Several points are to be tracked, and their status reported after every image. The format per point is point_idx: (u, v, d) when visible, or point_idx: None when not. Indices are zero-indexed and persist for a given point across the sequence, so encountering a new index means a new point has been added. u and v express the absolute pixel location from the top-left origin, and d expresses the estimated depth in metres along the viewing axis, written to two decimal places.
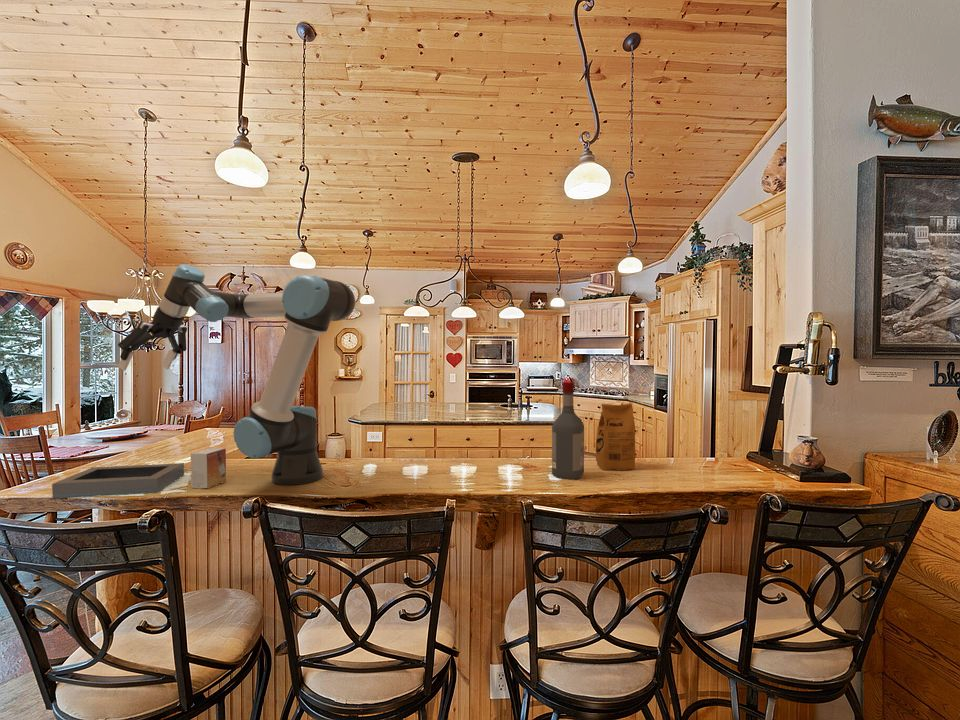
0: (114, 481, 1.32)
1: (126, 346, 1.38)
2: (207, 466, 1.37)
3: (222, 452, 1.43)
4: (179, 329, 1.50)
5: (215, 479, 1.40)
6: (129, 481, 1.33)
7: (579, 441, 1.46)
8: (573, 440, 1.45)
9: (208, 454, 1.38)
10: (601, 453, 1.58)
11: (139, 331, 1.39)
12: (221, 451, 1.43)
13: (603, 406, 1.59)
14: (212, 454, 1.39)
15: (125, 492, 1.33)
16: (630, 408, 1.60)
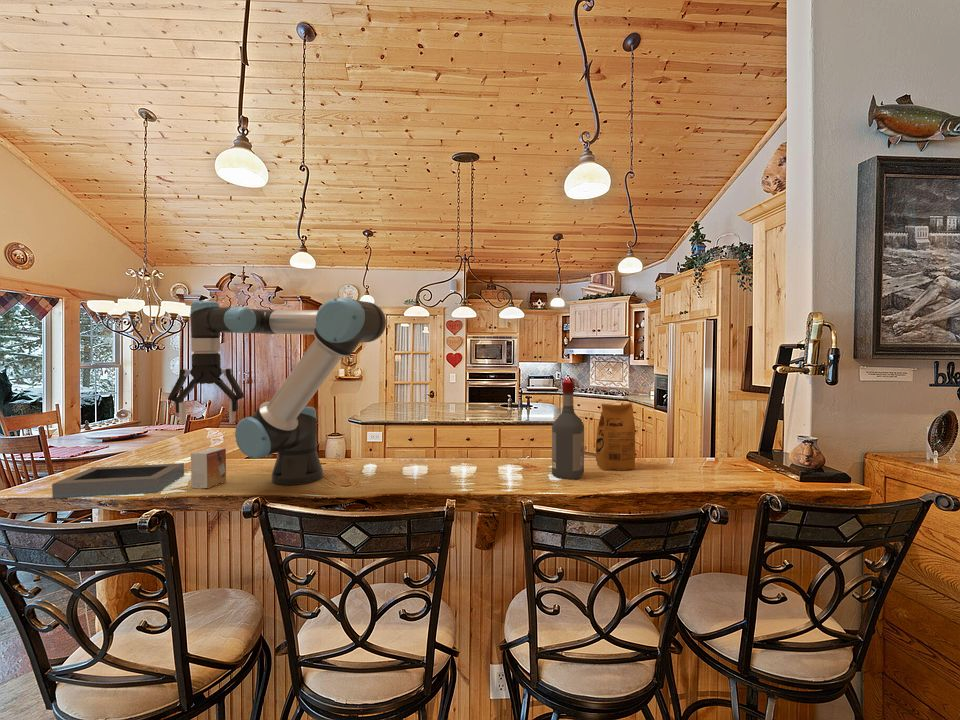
0: (114, 481, 1.32)
1: (170, 395, 1.38)
2: (207, 466, 1.37)
3: (222, 452, 1.43)
4: (223, 372, 1.41)
5: (215, 479, 1.40)
6: (129, 481, 1.33)
7: (579, 441, 1.46)
8: (573, 440, 1.45)
9: (208, 454, 1.38)
10: (601, 453, 1.58)
11: None
12: (221, 451, 1.43)
13: (603, 406, 1.59)
14: (212, 454, 1.39)
15: (125, 492, 1.33)
16: (630, 408, 1.60)
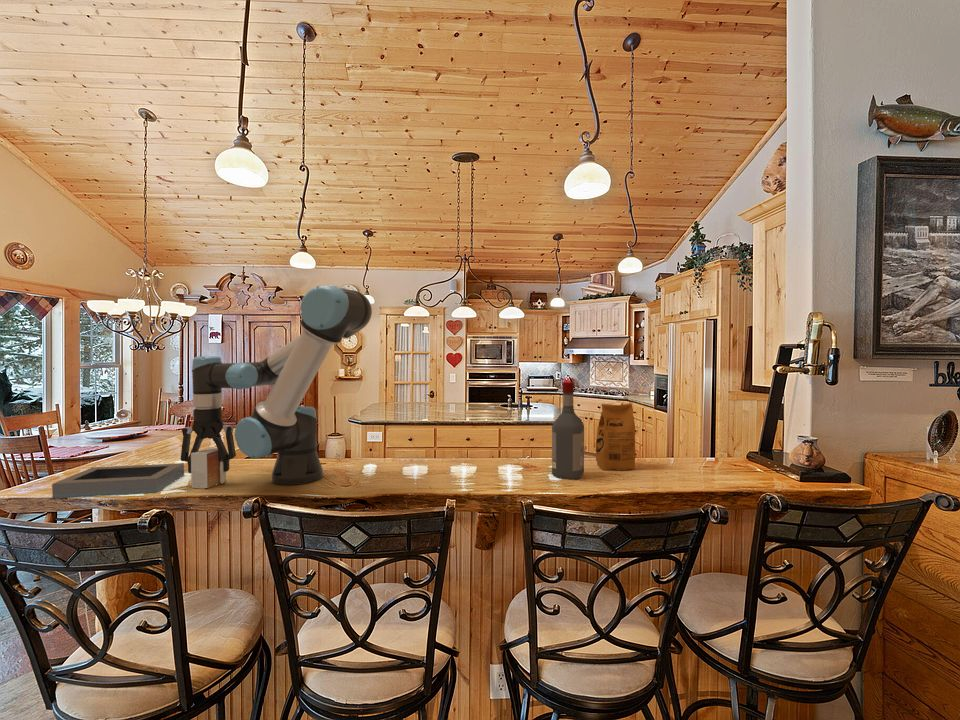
0: (114, 481, 1.32)
1: (182, 456, 1.39)
2: (207, 465, 1.37)
3: None
4: (224, 429, 1.42)
5: (215, 479, 1.40)
6: (129, 481, 1.33)
7: (579, 441, 1.46)
8: (573, 440, 1.45)
9: (208, 454, 1.38)
10: (601, 453, 1.58)
11: None
12: None
13: (603, 406, 1.59)
14: (212, 453, 1.39)
15: (125, 492, 1.33)
16: (630, 408, 1.60)
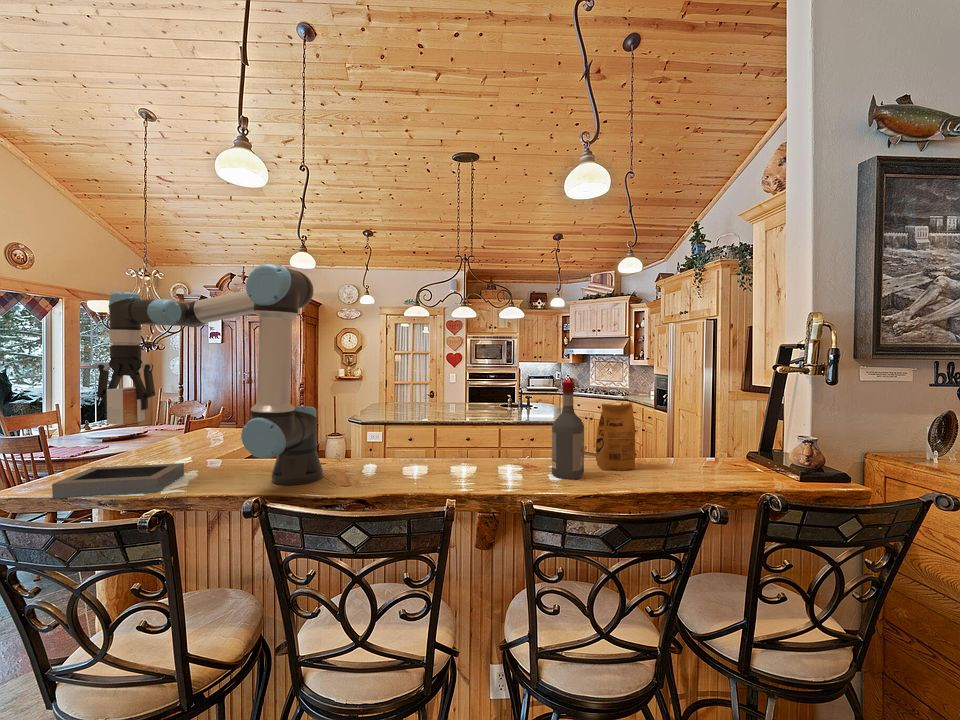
0: (114, 481, 1.32)
1: (98, 392, 1.38)
2: (123, 401, 1.36)
3: None
4: (143, 366, 1.40)
5: (133, 417, 1.39)
6: (129, 481, 1.33)
7: (579, 441, 1.46)
8: (573, 440, 1.45)
9: (124, 390, 1.36)
10: (601, 453, 1.58)
11: None
12: None
13: (603, 406, 1.59)
14: (129, 390, 1.38)
15: (125, 492, 1.33)
16: (630, 408, 1.60)
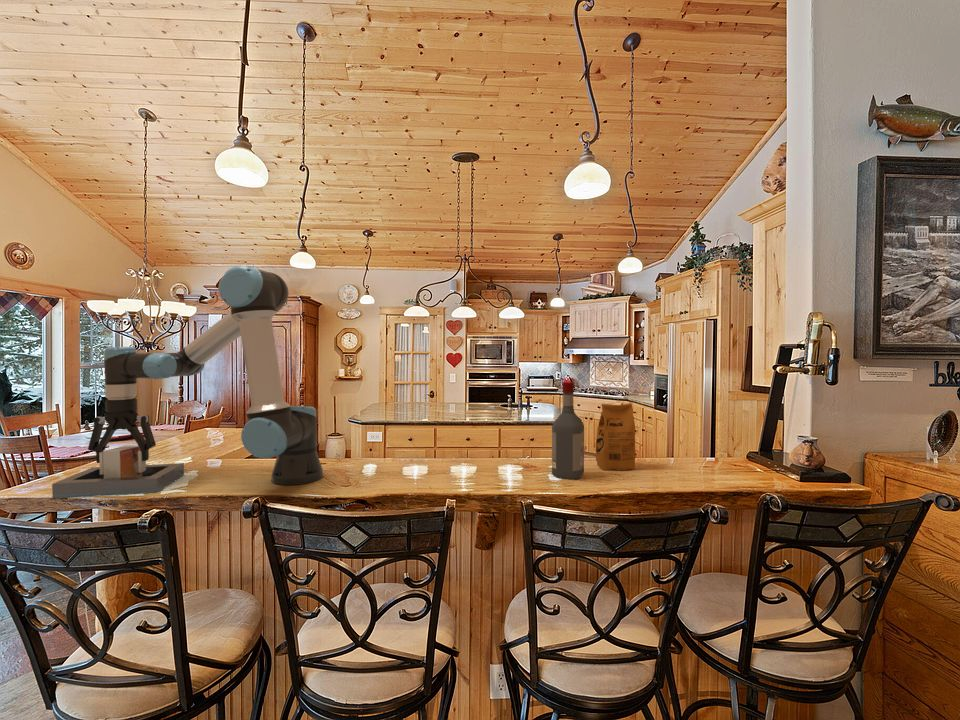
0: (114, 481, 1.32)
1: (90, 445, 1.38)
2: (120, 463, 1.37)
3: (137, 449, 1.42)
4: (139, 419, 1.41)
5: (130, 476, 1.40)
6: (129, 481, 1.33)
7: (579, 441, 1.46)
8: (573, 440, 1.45)
9: (121, 451, 1.37)
10: (601, 453, 1.58)
11: None
12: (136, 448, 1.42)
13: (603, 406, 1.59)
14: (126, 451, 1.38)
15: (125, 492, 1.33)
16: (630, 408, 1.60)
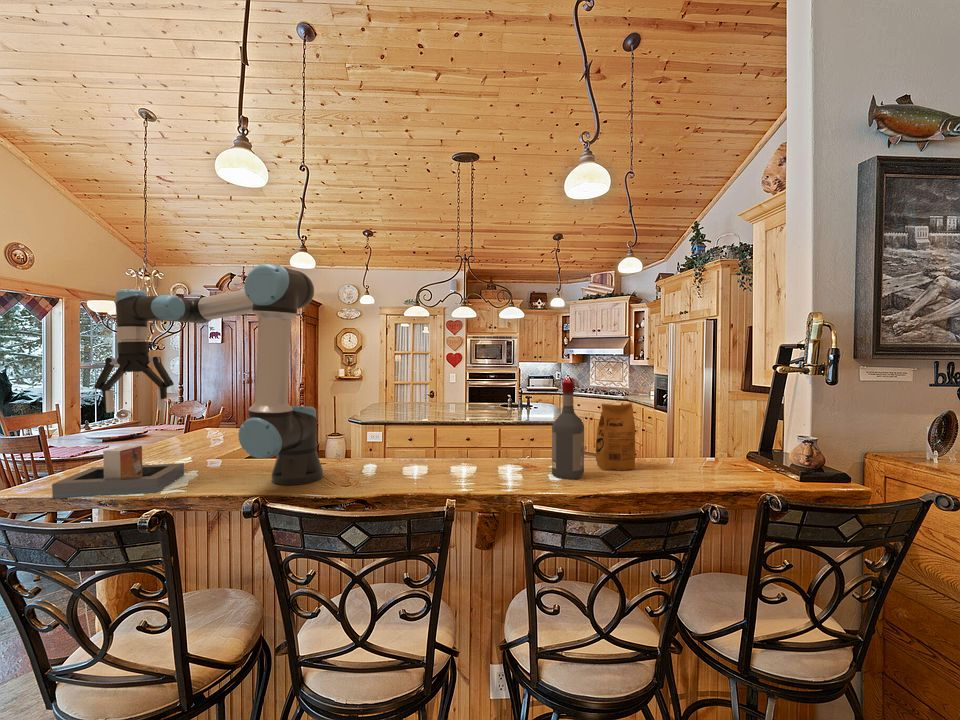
0: (114, 481, 1.32)
1: (97, 383, 1.39)
2: (121, 463, 1.37)
3: (137, 449, 1.42)
4: (151, 360, 1.43)
5: (130, 476, 1.40)
6: (129, 481, 1.33)
7: (579, 441, 1.46)
8: (573, 440, 1.45)
9: (122, 451, 1.37)
10: (601, 453, 1.58)
11: None
12: (137, 448, 1.42)
13: (603, 406, 1.59)
14: (126, 451, 1.38)
15: (125, 492, 1.33)
16: (630, 408, 1.60)
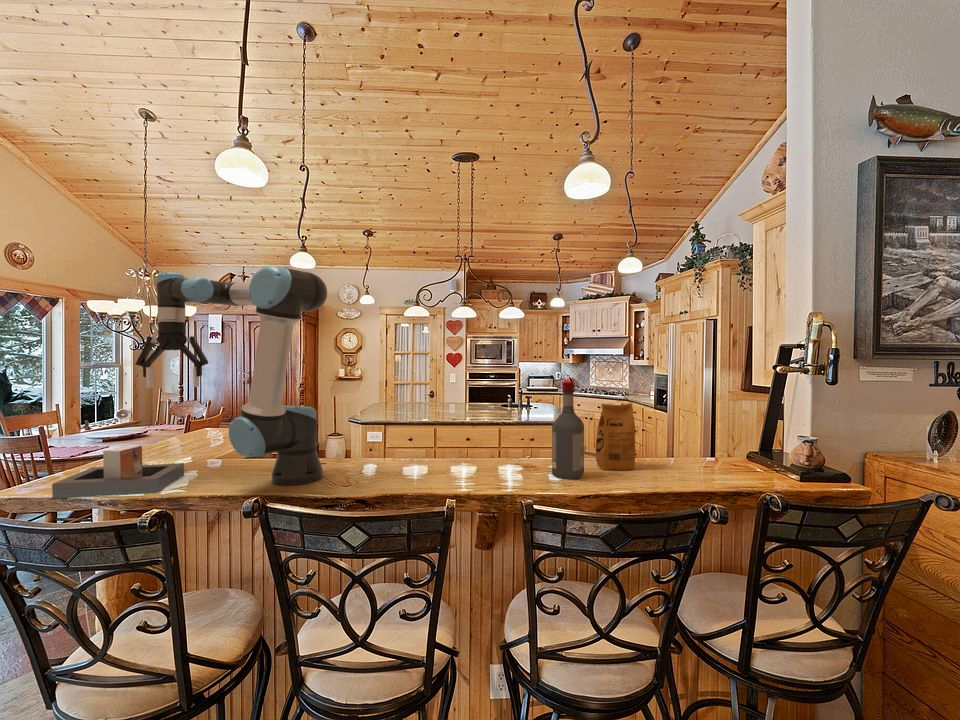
0: (114, 481, 1.32)
1: (138, 360, 1.48)
2: (121, 463, 1.37)
3: (137, 449, 1.42)
4: (188, 340, 1.52)
5: (130, 476, 1.40)
6: (129, 481, 1.33)
7: (579, 441, 1.46)
8: (573, 440, 1.45)
9: (122, 451, 1.37)
10: (601, 453, 1.58)
11: None
12: (137, 448, 1.42)
13: (603, 406, 1.59)
14: (126, 451, 1.38)
15: (125, 492, 1.33)
16: (630, 408, 1.60)
